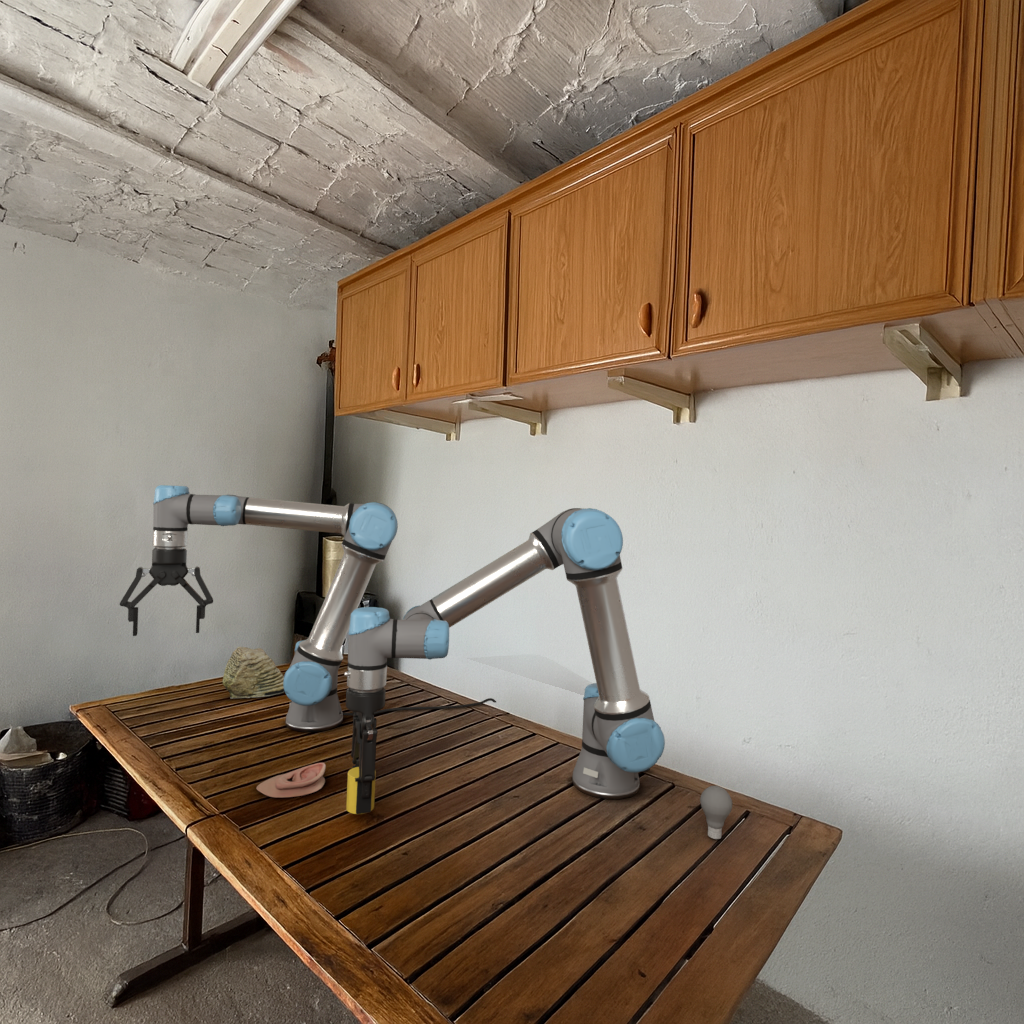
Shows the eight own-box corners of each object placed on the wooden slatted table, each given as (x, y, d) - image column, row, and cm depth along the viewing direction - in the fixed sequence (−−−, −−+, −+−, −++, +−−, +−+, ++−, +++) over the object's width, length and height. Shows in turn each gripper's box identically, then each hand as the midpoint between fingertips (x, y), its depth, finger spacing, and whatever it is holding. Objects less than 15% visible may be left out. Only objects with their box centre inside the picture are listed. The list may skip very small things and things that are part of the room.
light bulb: (693, 829, 126) (696, 780, 126) (722, 829, 127) (725, 780, 127) (705, 846, 121) (708, 794, 120) (735, 846, 121) (738, 794, 121)
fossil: (218, 695, 195) (220, 647, 195) (278, 685, 208) (279, 640, 207) (228, 703, 189) (230, 653, 188) (289, 692, 201) (290, 645, 201)
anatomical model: (248, 775, 133) (279, 754, 144) (247, 794, 133) (278, 771, 144) (306, 783, 130) (332, 761, 142) (305, 802, 130) (332, 779, 142)
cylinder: (343, 804, 125) (344, 768, 125) (369, 799, 128) (371, 764, 128) (350, 816, 121) (351, 779, 121) (377, 811, 123) (379, 775, 123)
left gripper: (108, 548, 147) (105, 639, 148) (225, 549, 158) (222, 633, 159) (112, 546, 154) (109, 632, 155) (224, 546, 165) (221, 627, 166)
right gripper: (340, 675, 131) (335, 786, 131) (353, 703, 114) (347, 831, 114) (376, 673, 134) (371, 782, 134) (395, 700, 117) (389, 825, 117)
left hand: (166, 633), depth 157 cm, fingers open, 13 cm apart
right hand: (360, 804), depth 124 cm, fingers closed on cylinder, 5 cm apart
